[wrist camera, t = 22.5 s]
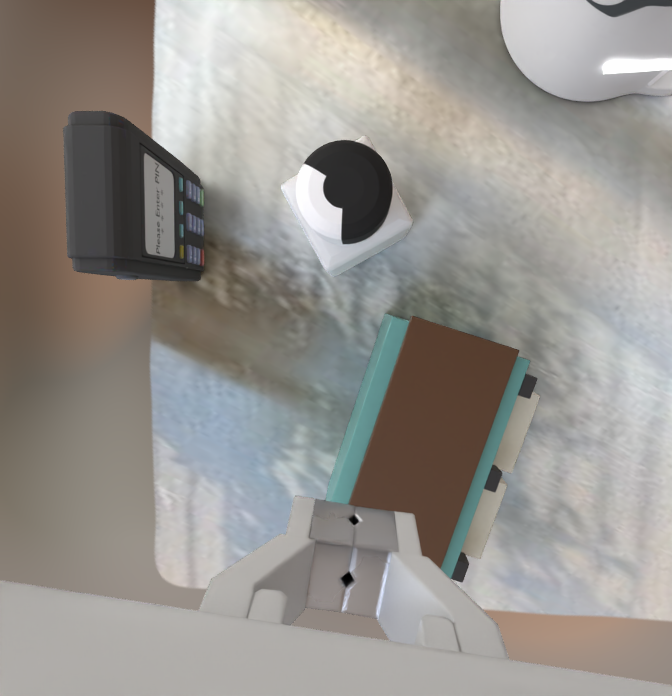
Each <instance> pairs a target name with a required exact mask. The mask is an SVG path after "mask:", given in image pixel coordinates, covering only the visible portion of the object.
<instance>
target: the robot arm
mask: <svg viewBox="0 0 672 696" xmlns="http://www.w3.org/2000/svg"><path fill="white" fill-rule="evenodd" d="M500 20H501V28H502V33H503V37H504V41H505V44H506V46H507V49H508V51H509V53H510V55H511V57H512V59H513V61H514V62H515V64H516V65H517V67H518V68H519V69H520V70H521V72H522V73H523V74H524V75H525V76H526V77H527V78H528V79H529V80H530V81H531V82H533V83H534V84H535V85H537V86H538V87H540V88H541V89H543V90H544V91H546V92H548V93H550V94H553V95H555V96H558V97H560V98H564V99H568V100H573V101H582V102H591V101H602V100H607V99H611V98H615V97H619V96H622V95H627V94H633V93H638V94H644V95H651V96H669V95H672V0H501V4H500ZM314 503H315V505H314ZM313 509H314V511H313ZM312 516H313V517H312ZM311 523H312V524H311ZM305 608H311V609H318V610H327V611H334V612H342V613H347V614H352V615H358V616H363V617H369V618H374V619H378V622H379V624H380V626H381V627H382V629H383V630H384V632H385V634H386V635H387V637H388V638H389V640H390V641H386V640H380V639H374V638H367V637H361V636H354V635H349V634H342V633H336V632H329V631H323V630H317V629H310V628H304V627H297V626H291V624H292V623H293V622H294V621H295V620H296V619H297V618H298V617H299V616H300V614H301V613H302V612H303V611H304V610H305ZM0 696H672V685H667V684H661V683H655V682H648V681H642V680H636V679H629V678H623V677H617V676H610V675H603V674H598V673H591V672H585V671H578V670H572V669H566V668H559V667H553V666H546V665H539V664H534V663H527V662H521V661H513V660H509V657H508V654H507V651H506V648H505V645H504V642H503V639H502V636H501V633H500V630H499V627H498V624H497V623H496V622H495V621H494V620H493V619H492V618H491V617H490V616H489V615H487V613H486V612H484V611H483V610H482V609H481V608H480V607H479V606H478V605H477V604H476V603H475V602H474V601H473V600H472V599H471V598H470V597H469V596H468V595H467V594H466V593H465V592H464V591H463V590H462V589H461V588H460V587H459V586H457V585H456V584H455V583H454V582H453V581H452V580H451V579H450V578H449V577H448V576H447V575H446V574H445V573H444V572H443V571H442V570H441V569H440V568H439V567H438V566H437V565H436V564H435V563H434V562H433V561H431V560H430V559H429V558H428V557H425V556H422V552H421V547H420V542H419V536H418V531H417V526H416V520H415V515H414V514H413V513H405V512H396V511H387V510H379V509H372V508H364V507H356V506H354V505H348V504H343V503H337V502H331V501H326V500H320V499H314V498H309V497H302V496H295V497H294V500H293V504H292V509H291V513H290V517H289V522H288V526H287V531H286V535H284V534H279V535H278V536H276V537H275V538H273V539H272V540H270V541H268V542H267V543H265V544H264V545H262V546H261V547H259V548H258V549H256V550H255V551H253V552H252V553H250V554H249V555H247V556H246V557H244V558H242V559H241V560H239V561H238V562H236V563H235V564H233V565H232V566H230V567H229V568H227V569H226V570H224V571H223V572H221V573H220V574H218V575H217V576H215V577H213V578H212V579H211V581H210V584H209V586H208V589H207V591H206V594H205V596H204V599H203V601H202V603H201V606H200V608H199V611H195V610H189V609H183V608H176V607H170V606H163V605H157V604H150V603H145V602H137V601H131V600H125V599H119V598H113V597H106V596H100V595H93V594H87V593H81V592H74V591H67V590H62V589H55V588H49V587H42V586H36V585H30V584H23V583H17V582H11V581H4V580H0Z"/></svg>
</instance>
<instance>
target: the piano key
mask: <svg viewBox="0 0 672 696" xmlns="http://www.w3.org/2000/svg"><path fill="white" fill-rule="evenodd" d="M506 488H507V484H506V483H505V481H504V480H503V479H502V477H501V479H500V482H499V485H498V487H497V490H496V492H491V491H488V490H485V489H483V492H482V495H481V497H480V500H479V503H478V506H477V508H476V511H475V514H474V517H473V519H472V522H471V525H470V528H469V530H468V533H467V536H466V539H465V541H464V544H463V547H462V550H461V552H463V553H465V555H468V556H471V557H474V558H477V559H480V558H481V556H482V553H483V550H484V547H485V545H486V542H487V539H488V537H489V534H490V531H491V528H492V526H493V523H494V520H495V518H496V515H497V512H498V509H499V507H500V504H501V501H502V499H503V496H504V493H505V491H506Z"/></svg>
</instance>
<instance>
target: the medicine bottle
mask: <svg viewBox="0 0 672 696" xmlns="http://www.w3.org/2000/svg"><path fill="white" fill-rule="evenodd" d="M281 190H282V192H283V194H284V196H285V198H286V199H287V201H288V203H289V205H290V207H291V209H292V210H293V212H294V214H295V216H296V218H297V220H298V221H299V223H300V225H301V227H302V229H303V231H304V233H305V234H306V236H307V238H308V240H309V242H310V244H311V245H312V247H313V249H314V251H315V253H316V255H317V256H318V258H319V260H320V262H321V264H322V266H323V267H324V269H325V270H326V271H327V272H328V273H329V274H330V275H331V276H334V277H335V276H338V275H339V274H341V273H343V272H345V271H347V270H348V269H350V268H352V267H354V266H356V265H357V264H359V263H361V262H363V261H364V260H366V259H368V258H370V257H372V256H373V255H375V254H377V253H379V252H381V251H382V250H384V249H386V248H388V247H390V246H391V245H393V244H395V243H397V242H399V241H400V240H402V239H404V238H405V236H406V235H407V233H408V231H409V230H410V228H411V226H412V225H413V220H412V218H411V216H410V214H409V212H408V210H407V208H406V207H405V205H404V203H403V201H402V199H401V197H400V195H399V193H398V192H397V190H396V188H395V186H394V184H393V182H392V178H391V174H390V172H389V169H388V167H387V165H386V163H385V162H384V160H383V159H382V158H381V156H380V155H379V154H378V153H377V152H376V150H375V148H374V146H373V144H372V143H371V141H370V139H369V138H368V137H367V136H362V137H361V138H359V139H357V140H356V141H350V140H341V141H334V142H331V143H328V144H325V145H323V146H322V147H320V148H318V149H317V150H315V151H314V152H313V153H312V154H311V155H310V156H309V157H308V158H307V159H306V161H305V162H304V164H303V165H302V167H301V169H300V172H299V174H297V175H296V176H294V177H292V178H291V179H289V180H287V181H285V182H284V183H283V184H282V185H281Z"/></svg>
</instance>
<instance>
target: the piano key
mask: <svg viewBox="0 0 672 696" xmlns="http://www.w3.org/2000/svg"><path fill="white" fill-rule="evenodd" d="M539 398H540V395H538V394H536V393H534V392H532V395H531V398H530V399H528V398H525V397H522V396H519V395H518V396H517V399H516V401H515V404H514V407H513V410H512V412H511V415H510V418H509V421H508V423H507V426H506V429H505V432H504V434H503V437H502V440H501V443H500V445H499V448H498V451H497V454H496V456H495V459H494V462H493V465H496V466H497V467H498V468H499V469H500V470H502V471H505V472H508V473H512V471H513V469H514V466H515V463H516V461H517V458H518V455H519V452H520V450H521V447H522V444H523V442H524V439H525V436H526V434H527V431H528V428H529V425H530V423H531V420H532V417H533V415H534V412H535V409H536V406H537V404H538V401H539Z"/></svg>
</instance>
